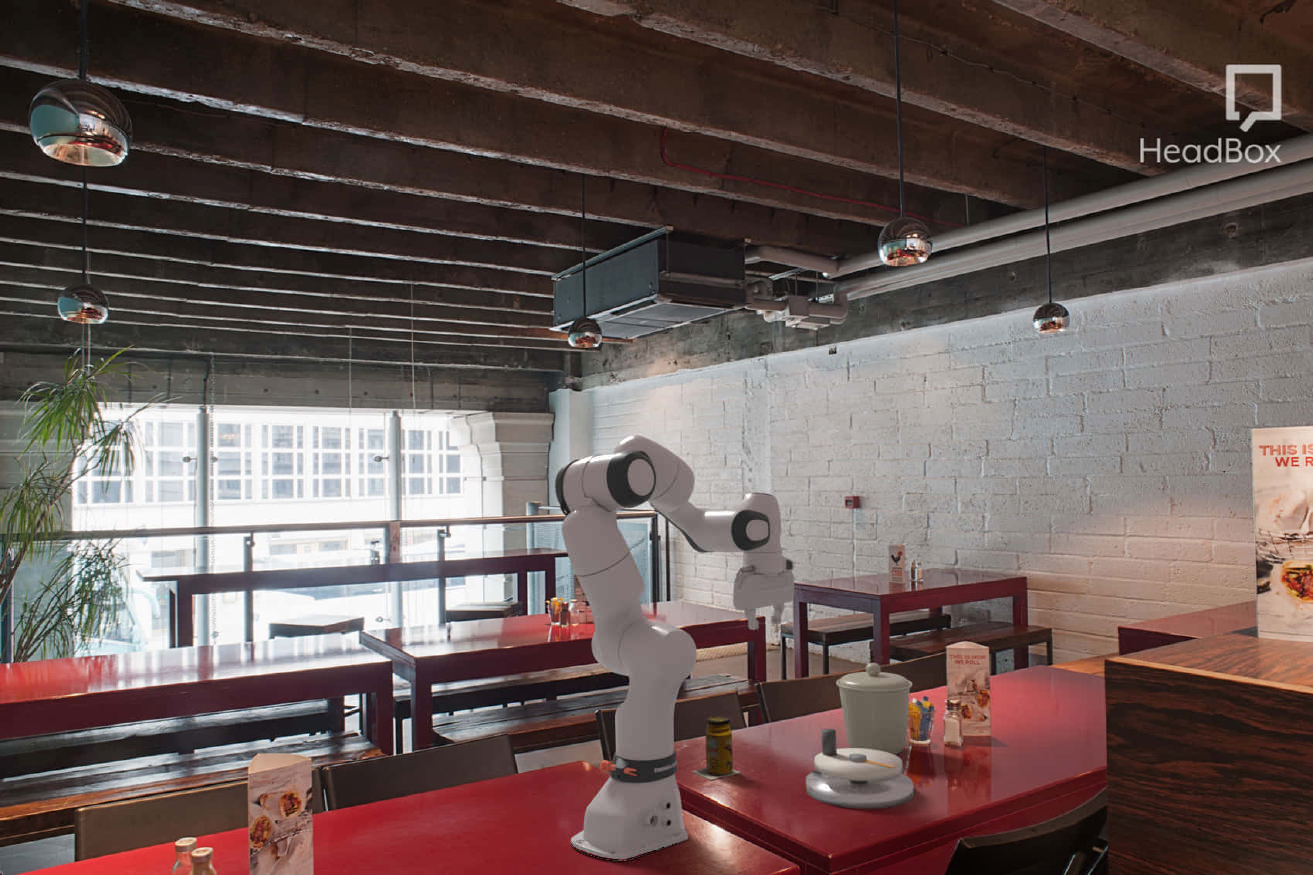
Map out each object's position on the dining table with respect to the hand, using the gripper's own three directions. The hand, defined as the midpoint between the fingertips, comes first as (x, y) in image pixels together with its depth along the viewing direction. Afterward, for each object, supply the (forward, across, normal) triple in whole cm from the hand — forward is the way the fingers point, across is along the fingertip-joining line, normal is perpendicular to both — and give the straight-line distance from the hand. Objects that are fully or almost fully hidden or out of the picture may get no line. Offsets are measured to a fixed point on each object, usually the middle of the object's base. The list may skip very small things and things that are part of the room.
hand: (765, 626), depth 197 cm
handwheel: (+28, +3, -20) cm, 35 cm away
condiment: (+33, -4, +12) cm, 36 cm away
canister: (+33, +32, -10) cm, 47 cm away
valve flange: (+33, +3, -20) cm, 39 cm away
